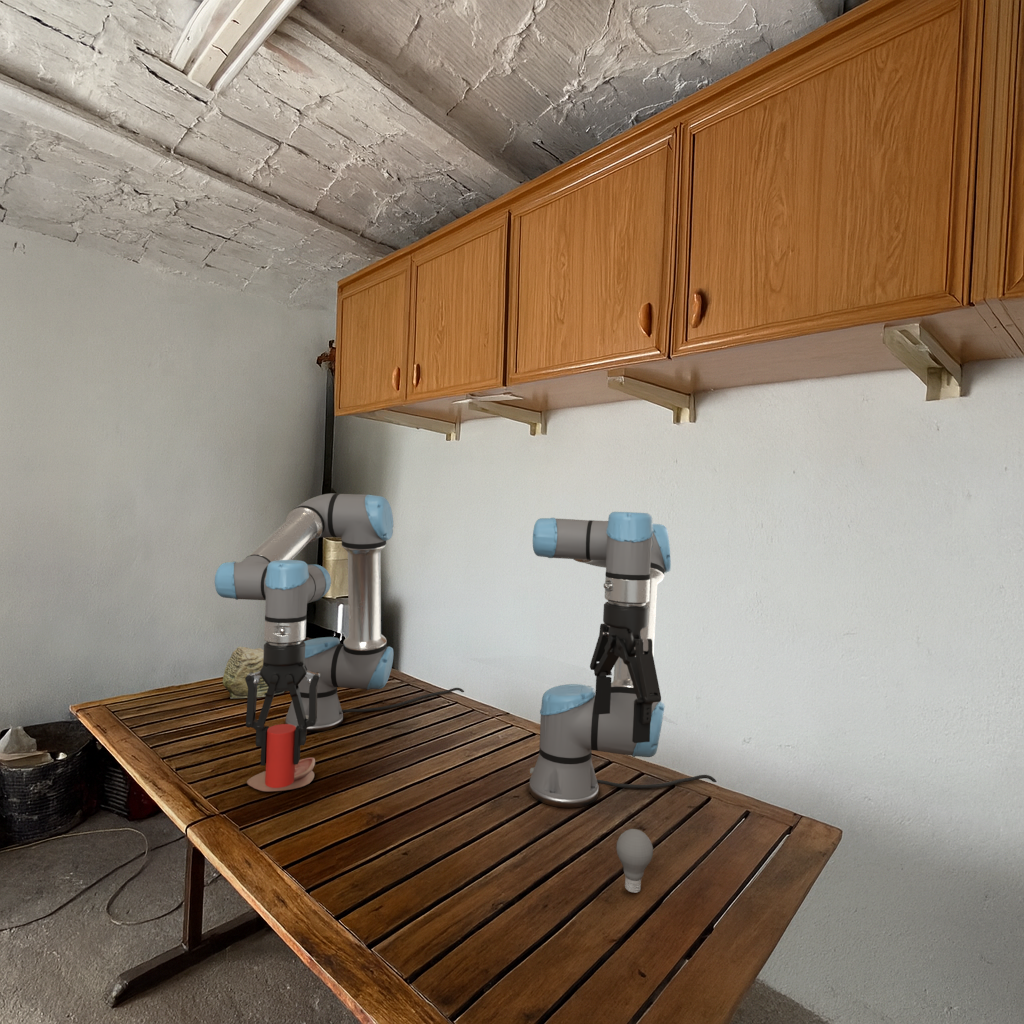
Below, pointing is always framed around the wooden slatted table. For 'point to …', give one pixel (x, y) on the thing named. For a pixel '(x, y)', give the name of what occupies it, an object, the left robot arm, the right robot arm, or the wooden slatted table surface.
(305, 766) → the anatomical model
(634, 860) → the light bulb
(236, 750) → the wooden slatted table surface
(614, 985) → the wooden slatted table surface
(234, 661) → the fossil
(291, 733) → the cylinder
